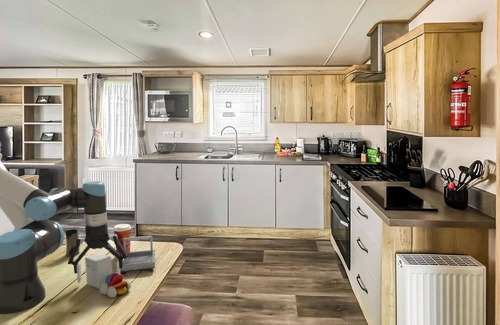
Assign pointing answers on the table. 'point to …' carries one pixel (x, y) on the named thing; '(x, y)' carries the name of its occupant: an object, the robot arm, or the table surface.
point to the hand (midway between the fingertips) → (99, 278)
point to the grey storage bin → (138, 257)
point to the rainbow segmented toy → (114, 285)
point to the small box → (97, 269)
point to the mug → (71, 241)
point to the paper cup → (123, 235)
